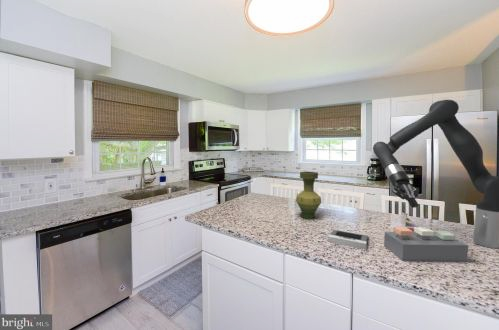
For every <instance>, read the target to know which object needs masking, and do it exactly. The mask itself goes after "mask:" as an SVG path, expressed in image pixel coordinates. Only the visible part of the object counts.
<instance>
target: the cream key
mask: <svg viewBox="0 0 499 330" xmlns="http://www.w3.org/2000/svg"><path fill="white" fill-rule="evenodd" d="M414 232H416V233H418V238H420V239H422V240H429V238H430V236H434V232H435V230H432V229H430V228H429V227H426V226H422V227H421V226H414Z"/></svg>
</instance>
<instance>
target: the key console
mask: <svg viewBox="0 0 499 330" xmlns="http://www.w3.org/2000/svg"><path fill="white" fill-rule="evenodd" d="M383 236H384V237H383V238H384V239H383V246H384V247H385V248H386V249H387V250H388V251H389V252H391V253H392V254H393V255H395V257H398V259H400V260H401V261H404V262H405V261H407V262H463V263H464V262H468V256H469V255H468V254H469V252H468V251H469V244H466V243H464V242H462V241H460V240H458V239H456V238H455V240H442V239H440V238H439V237H437V236H435V235H434V236H430V238H429V240H422V239H420V238H418V233H416V232H413V234H412V236H408V240H401V239H399V238H398V237H397V233H396V232H393V231H384V235H383Z"/></svg>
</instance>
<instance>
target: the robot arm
mask: <svg viewBox="0 0 499 330" xmlns="http://www.w3.org/2000/svg"><path fill="white" fill-rule="evenodd" d="M459 109H460V108H459V104H458V102H457V101H455V100H452V99H442V100H438V101H435V102H433V103H432V104H431V105H430V107H429V109H428V113H426V114H425V115H423V116H422V117H421V118H419V119H417V120H415V121H414V122H412V123H410V124H408V125H406V126H404V127H403V128H401V129H400V130H398V131H396V132H395V133H394V134H392V135H391V136H390V137H389V142H388V143H386V142H384V141H377V142H376V143H374V144H373V147H372V151H373V153H374V154H375V157H377V159H378V160H379V162H380V164H381V166H382V168H383V170H384V172H385V174H386V177H387V178H388V180H389V182H390V183H391V185H392V186H393V189H392V190H391V192H392V193H393V194H395V196H397V197H399V199H401V200H405V201H407V202H408V205H409V206H410V207H411V208H413V209H416V208H417V207H419V203H418V201H417V198H418V197H419V193H420V187H414V186H413V184H412V183H411V182H410V177H409V175H408V174H407V173H406V171H405V169H404V168H403V167H402V165H401V164H400V163H399V161H398V160H397V158H396V157H395V156H394V154H395V153H396V152H397V151H398V150H399V149H400V148H401V147H403V146H404V145H405V144H407V143H408V142H410V141H411V140H413V139H414V138H416V137H417V136H419V135H421V134H422V133H424V132H425V131H427V130H429V129H431V128H432V127H434V126H436V125H437V126H438V127H439V128H440V130H441V131H442V132H443V135H444V136H445V138H446V140H447V142H448V143H449V145H450V147H451V149H452V150H453V152H454V154H455V155H456V157H457V158H458V159H459V161H460V163H461V164H462V166H463V168H464V170H466V172H467V175H468V176H469V178H470V180H471V183H472V185H473V187H474V188H475V190H477V192H479V193H482V194H483V199H482V200H479V201H477V202H476V205H475V214H474V215H475V216H474V217H475V218H474V228H473V229H474V230H473V240H472V241H473V243H475V244H476V245H479V246H481V247H486V248H491V249H499V176H496V175H492V174H491V173H490V172H489V170H488V169H487V167H486V166H485V164H484V158H483V157H484V152H483V151H484V150H483V148H482V146H481V145H480V143H479V141H478V140H477V139H476V137H475V136H474V134H472V133H471V132H470V131H469V130H468V129H467V128H465V127H464V126H463V124H461V123H460V122H459V119H457V117H456V115H457V113H458V111H459Z"/></svg>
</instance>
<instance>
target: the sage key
mask: <svg viewBox="0 0 499 330" xmlns="http://www.w3.org/2000/svg"><path fill="white" fill-rule="evenodd" d="M434 235H435V236H437V237H439V238H440V239H442V240H455V239H456V235H455V234H454V233H452V232H449V231H447V230H434Z"/></svg>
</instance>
